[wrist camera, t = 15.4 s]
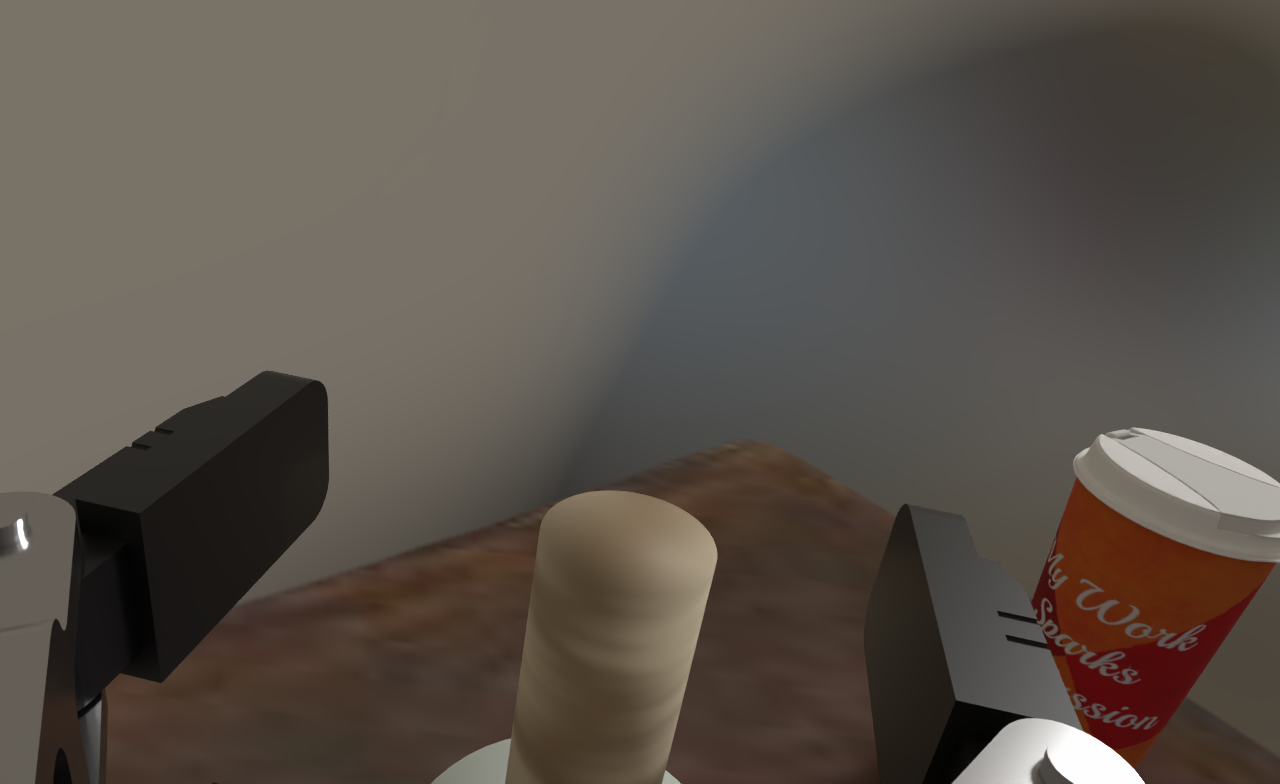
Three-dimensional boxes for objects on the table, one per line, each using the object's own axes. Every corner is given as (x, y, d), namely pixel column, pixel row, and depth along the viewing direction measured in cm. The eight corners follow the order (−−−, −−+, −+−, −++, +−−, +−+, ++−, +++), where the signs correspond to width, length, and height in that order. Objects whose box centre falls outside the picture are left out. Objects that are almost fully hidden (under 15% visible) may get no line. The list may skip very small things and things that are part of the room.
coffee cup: (933, 705, 41) (1044, 432, 35) (1035, 661, 45) (1151, 412, 39) (1090, 850, 35) (1260, 550, 28) (1191, 783, 39) (1358, 509, 33)
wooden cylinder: (646, 828, 32) (722, 512, 26) (623, 962, 27) (710, 615, 21) (516, 795, 32) (563, 476, 26) (472, 922, 27) (517, 570, 22)
